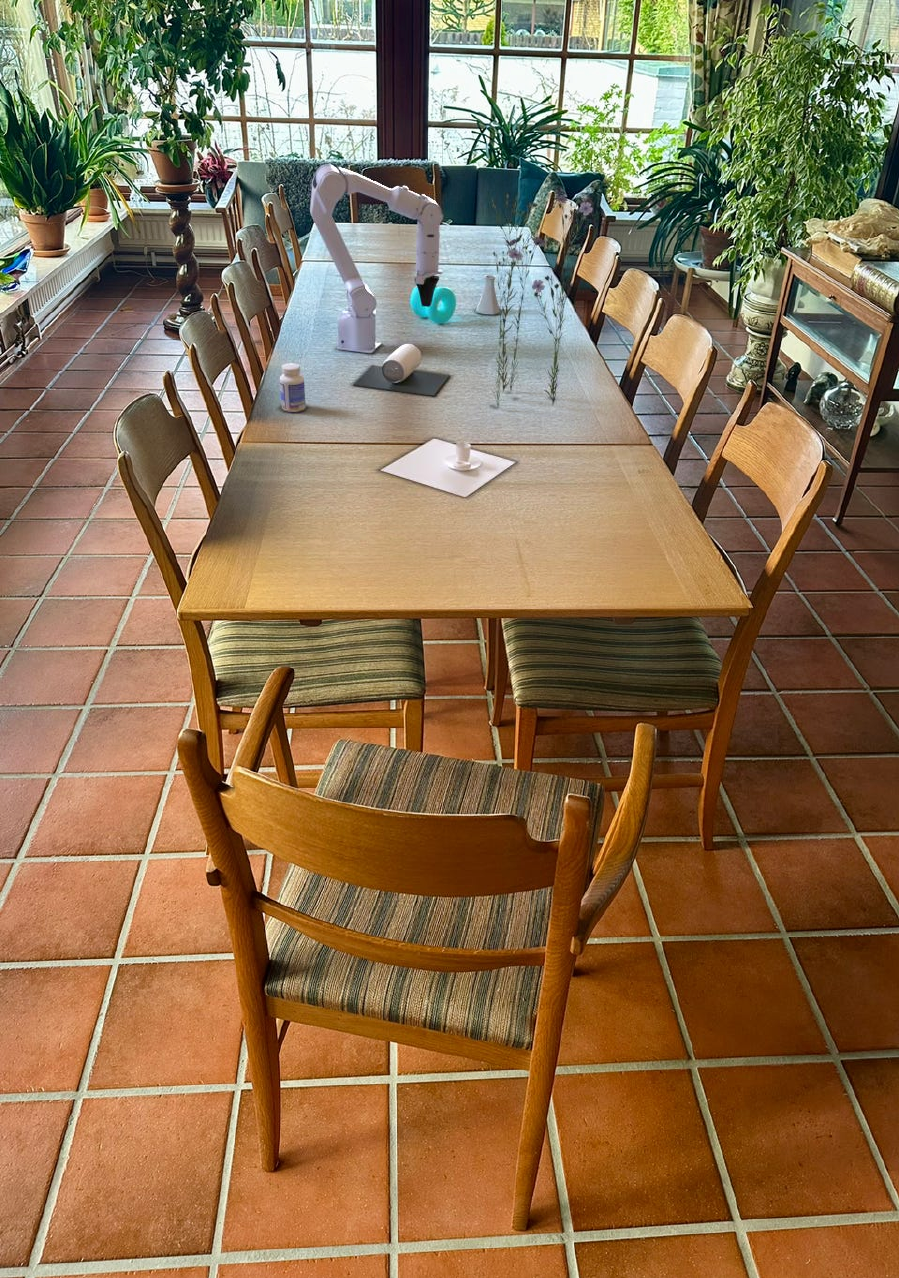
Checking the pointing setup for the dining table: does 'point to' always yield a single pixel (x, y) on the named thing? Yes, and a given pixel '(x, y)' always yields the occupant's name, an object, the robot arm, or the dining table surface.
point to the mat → (403, 382)
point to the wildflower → (536, 284)
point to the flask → (488, 298)
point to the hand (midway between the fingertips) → (426, 305)
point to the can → (401, 363)
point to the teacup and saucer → (449, 467)
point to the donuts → (435, 305)
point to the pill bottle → (292, 388)
